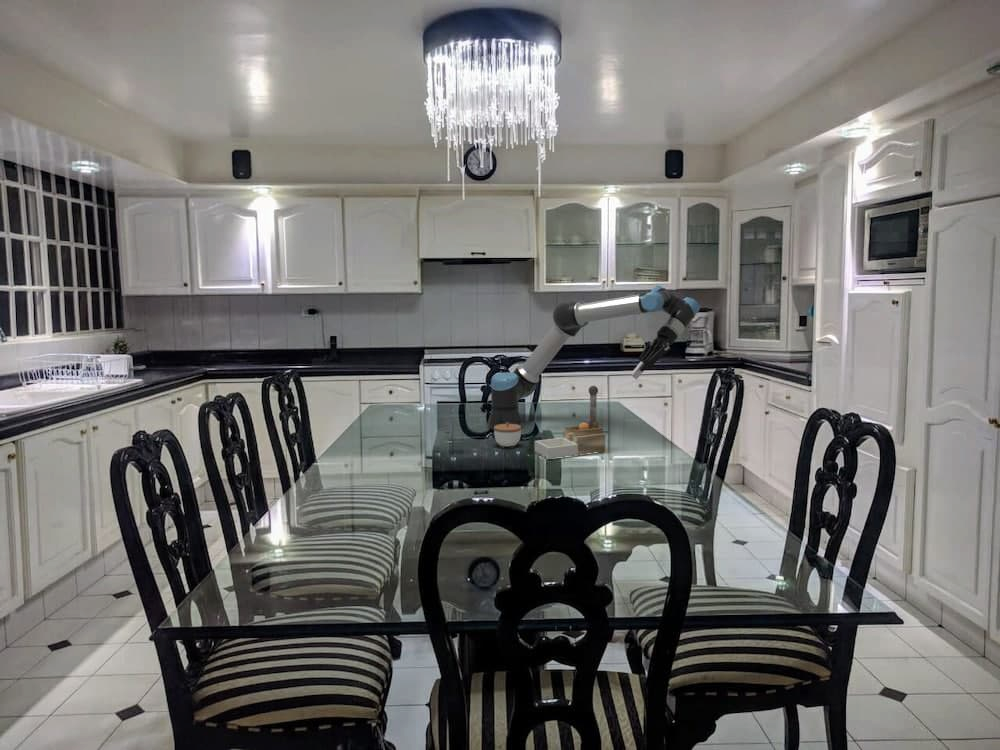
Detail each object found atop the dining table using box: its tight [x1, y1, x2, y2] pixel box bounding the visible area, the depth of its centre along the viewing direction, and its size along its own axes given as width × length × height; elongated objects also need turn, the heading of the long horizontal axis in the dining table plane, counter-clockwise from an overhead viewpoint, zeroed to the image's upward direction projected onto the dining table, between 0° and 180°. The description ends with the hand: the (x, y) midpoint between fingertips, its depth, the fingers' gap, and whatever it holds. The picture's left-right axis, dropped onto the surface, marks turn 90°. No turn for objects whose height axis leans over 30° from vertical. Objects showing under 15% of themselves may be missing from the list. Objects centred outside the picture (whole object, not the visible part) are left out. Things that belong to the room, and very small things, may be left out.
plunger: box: [587, 385, 600, 429], centre depth 277 cm, size 5×4×18 cm
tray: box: [534, 437, 578, 458], centre depth 273 cm, size 12×12×4 cm
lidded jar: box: [493, 422, 522, 447], centre depth 286 cm, size 11×11×9 cm
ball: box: [578, 422, 589, 430], centre depth 277 cm, size 4×4×4 cm
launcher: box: [562, 425, 606, 456], centre depth 277 cm, size 11×12×9 cm
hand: (633, 376), depth 282 cm, fingers closed
